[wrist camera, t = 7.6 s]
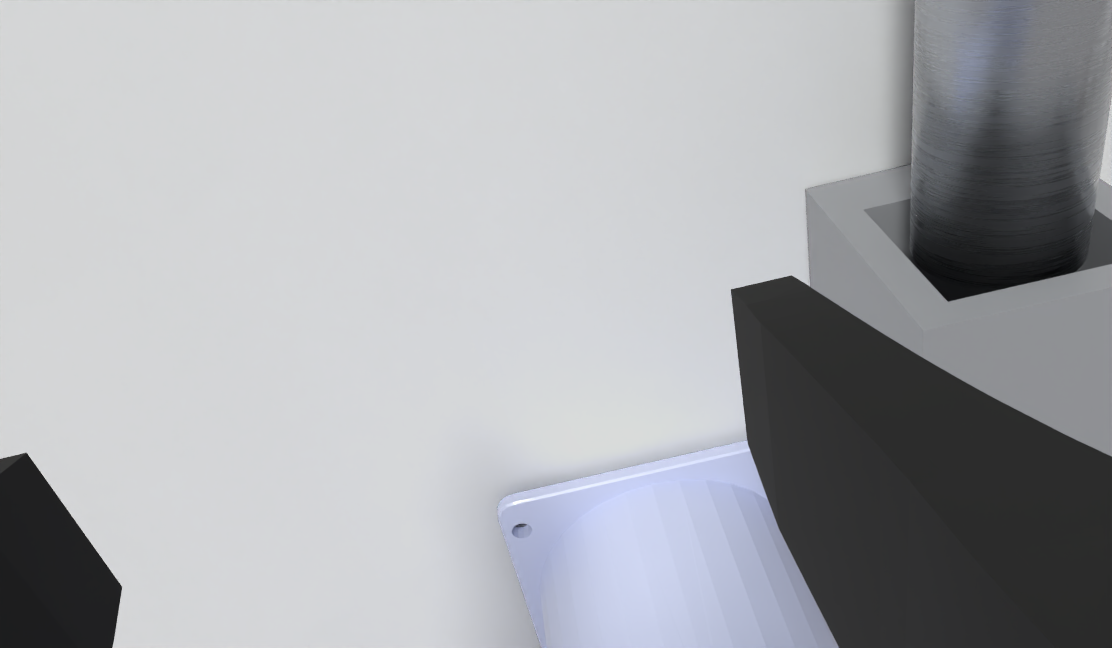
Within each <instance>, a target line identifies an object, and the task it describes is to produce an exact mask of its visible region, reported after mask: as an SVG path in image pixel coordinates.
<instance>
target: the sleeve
mask: <svg viewBox="0 0 1112 648" xmlns="http://www.w3.org/2000/svg"><path fill="white" fill-rule="evenodd" d="M805 191H806V211H807V230H808V250H809V270H810V287H811V288H813V289H814V290H816V291H817V292H819V293H820V294H822V295H823V296H825V297H827V298H828V299H830V300H831V301H833V302H834V303H836V304H837V305H839V306H840V307H842V308H844V309H845V310H847V311H848V312H850V313H851V314H853V315H854V316H856V317H858V318H859V319H861V320H862V321H864V322H866V323H867V324H869V325H870V326H872V327H873V328H875V329H877V330H878V331H880V332H881V333H883V334H885V335H886V336H888V337H889V338H891V339H893V340H894V341H896V342H898V343H899V344H901V345H903V346H904V347H906V348H907V349H909V350H911V351H912V352H914V353H916V354H917V355H919V356H921V357H923V358H924V359H926V360H928V361H929V362H931V363H933V364H934V365H936V366H938V367H940V368H941V369H943V370H945V371H947V372H948V373H950V374H952V375H954V376H955V377H957V378H959V379H960V380H962V381H964V382H966V383H968V384H970V385H971V386H973V387H975V388H977V389H979V390H980V391H982V392H984V393H986V394H988V395H990V396H991V397H993V398H995V399H997V400H999V401H1001V402H1003V403H1005V404H1007V405H1009V406H1010V407H1012V408H1014V409H1016V410H1018V411H1020V412H1022V413H1024V414H1026V415H1028V416H1030V417H1032V418H1034V419H1036V420H1038V421H1040V422H1042V423H1044V424H1046V425H1048V426H1050V427H1051V428H1053V429H1055V430H1057V431H1059V432H1061V433H1063V434H1065V435H1067V436H1069V437H1071V438H1073V439H1075V440H1078V441H1080V442H1082V443H1084V444H1086V445H1088V446H1090V447H1093V448H1095V449H1097V450H1099V451H1101V452H1103V453H1105V454H1108V455H1110V456H1112V186H1110V185H1109V184H1107V183H1106V182H1104V181H1103V180H1101V179H1100V178H1099V184H1098V191H1097V198H1096V204H1095V211H1094V218H1093V224H1092V231H1091V238H1090V245H1089V251H1088V256H1087V259H1086V261H1085V262H1084V264H1083V265H1082V266H1081V267H1080V268H1079V269H1078V270H1077V271H1076V272H1074V273H1070V274H1066V275H1062V276H1057V277H1053V278H1049V279H1044V280H1040V281H1036V282H1031V283H1027V284H1023V285H1018V286H1014V287H1010V288H1005V289H1001V290H983V289H975V288H969V287H964V286H960V285H956V284H952V283H949V282H946V281H944V280H941V279H939V278H936V277H934V276H933V275H931V274H929V273H927V272H926V271H924V270H923V269H922V268H921V267H920V266H918V265H917V263H916V262H915V261H914V260H913V258H912V256H911V253H910V205H911V165H906V166H902V167H898V168H893V169H889V170H885V171H881V172H876V173H872V174H868V175H863V176H859V177H855V178H851V179H846V180H842V181H838V182H833V183H829V184H825V185H821V186H816V187H812V188H808V189H805Z"/></svg>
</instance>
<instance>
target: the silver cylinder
mask: <svg viewBox="0 0 1112 648" xmlns="http://www.w3.org/2000/svg"><path fill="white" fill-rule="evenodd" d="M1111 97H1112V0H915V17H914V64H913V111H912V158H911V205H910V253H911V256H912V258H913V260H914V261H915V262H916V263H917V265H918V266H920V267H921V268H922V269H923V270H924V271H926V272H927V273H929V274H931V275H933V276H934V277H936V278H939V279H941V280H944V281H946V282H949V283H952V284H956V285H960V286H964V287H969V288H975V289H983V290H1001V289H1005V288H1010V287H1014V286H1018V285H1023V284H1027V283H1031V282H1036V281H1040V280H1044V279H1049V278H1053V277H1057V276H1062V275H1066V274H1070V273H1074V272H1076V271H1077V270H1078V269H1079V268H1080V267H1081V266H1082V265H1083V264H1084V262H1085V261H1086V259H1087V256H1088V251H1089V245H1090V238H1091V231H1092V224H1093V218H1094V211H1095V204H1096V198H1097V191H1098V184H1099V178H1100V171H1101V164H1102V157H1103V151H1104V144H1105V137H1106V131H1107V124H1108V117H1109V110H1110V104H1111Z"/></svg>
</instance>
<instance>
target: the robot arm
mask: <svg viewBox="0 0 1112 648" xmlns="http://www.w3.org/2000/svg"><path fill="white" fill-rule="evenodd" d="M731 295H732V304H733V313H734V322H735V331H736V340H737V350H738V359H739V368H740V377H741V386H742V395H743V405H744V414H745V423H746V432H747V440H746V441H742V442H737V443H733V444H729V445H724V446H720V447H715V448H711V449H707V450H702V451H698V452H694V453H689V454H685V455H680V456H676V457H672V458H667V459H663V460H659V461H654V462H650V463H645V464H641V465H637V466H632V467H628V468H624V469H619V470H615V471H610V472H606V473H602V474H597V475H593V476H589V477H584V478H580V479H575V480H571V481H567V482H562V483H558V484H554V485H549V486H545V487H541V488H536V489H532V490H527V491H523V492H519V493H514V494H511V495H508V496H506V497H504V498H503V499H502V500H501V501H500V502H499V504H498V506H497V508H498V521H499V524H500V527H501V530H502V533H503V536H504V539H505V542H506V545H507V548H508V551H509V554H510V556H511V559H512V562H513V565H514V568H515V571H516V574H517V577H518V580H519V583H520V586H521V589H522V592H523V595H524V598H525V601H526V604H527V607H528V610H529V613H530V616H531V619H532V622H533V625H534V628H535V631H536V634H537V637H538V640H539V643H540V646H541V648H1112V456H1110V455H1108V454H1105V453H1103V452H1101V451H1099V450H1097V449H1095V448H1093V447H1090V446H1088V445H1086V444H1084V443H1082V442H1080V441H1078V440H1075V439H1073V438H1071V437H1069V436H1067V435H1065V434H1063V433H1061V432H1059V431H1057V430H1055V429H1053V428H1051V427H1050V426H1048V425H1046V424H1044V423H1042V422H1040V421H1038V420H1036V419H1034V418H1032V417H1030V416H1028V415H1026V414H1024V413H1022V412H1020V411H1018V410H1016V409H1014V408H1012V407H1010V406H1009V405H1007V404H1005V403H1003V402H1001V401H999V400H997V399H995V398H993V397H991V396H990V395H988V394H986V393H984V392H982V391H980V390H979V389H977V388H975V387H973V386H971V385H970V384H968V383H966V382H964V381H962V380H960V379H959V378H957V377H955V376H954V375H952V374H950V373H948V372H947V371H945V370H943V369H941V368H940V367H938V366H936V365H934V364H933V363H931V362H929V361H928V360H926V359H924V358H923V357H921V356H919V355H917V354H916V353H914V352H912V351H911V350H909V349H907V348H906V347H904V346H903V345H901V344H899V343H898V342H896V341H894V340H893V339H891V338H889V337H888V336H886V335H885V334H883V333H881V332H880V331H878V330H877V329H875V328H873V327H872V326H870V325H869V324H867V323H866V322H864V321H862V320H861V319H859V318H858V317H856V316H854V315H853V314H851V313H850V312H848V311H847V310H845V309H844V308H842V307H840V306H839V305H837V304H836V303H834V302H833V301H831V300H830V299H828V298H827V297H825V296H823V295H822V294H820V293H819V292H817V291H816V290H814V289H813V288H811V287H809V286H808V285H806V284H805V283H803V282H801V281H800V280H798V279H797V278H795V277H793V276H787V277H783V278H779V279H774V280H770V281H766V282H762V283H757V284H753V285H749V286H744V287H740V288H736V289H731ZM518 524H527V525H526V526H524V527H516V525H518ZM121 591H122V586H121V585H120V583H119V582H118V581H117V579H116V578H115V576H114V575H113V574H112V572H111V571H110V569H109V568H108V567H107V565H106V564H105V562H104V561H103V560H102V558H101V557H100V555H99V554H98V553H97V551H96V550H95V548H94V547H93V545H92V544H91V543H90V541H89V540H88V538H87V537H86V536H85V534H84V533H83V531H82V530H81V529H80V527H79V526H78V524H77V523H76V522H75V520H74V519H73V517H72V516H71V515H70V513H69V512H68V510H67V509H66V508H65V506H64V505H63V503H62V502H61V501H60V499H59V498H58V496H57V495H56V493H55V492H54V491H53V489H52V488H51V486H50V485H49V484H48V482H47V481H46V479H45V478H44V477H43V475H42V474H41V472H40V471H39V470H38V468H37V467H36V465H35V464H34V463H33V461H32V460H31V458H30V457H29V456H28V454H27V453H24V454H20V455H15V456H11V457H7V458H2V459H0V648H112V646H113V641H114V636H115V629H116V623H117V616H118V610H119V603H120V597H121Z"/></svg>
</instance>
